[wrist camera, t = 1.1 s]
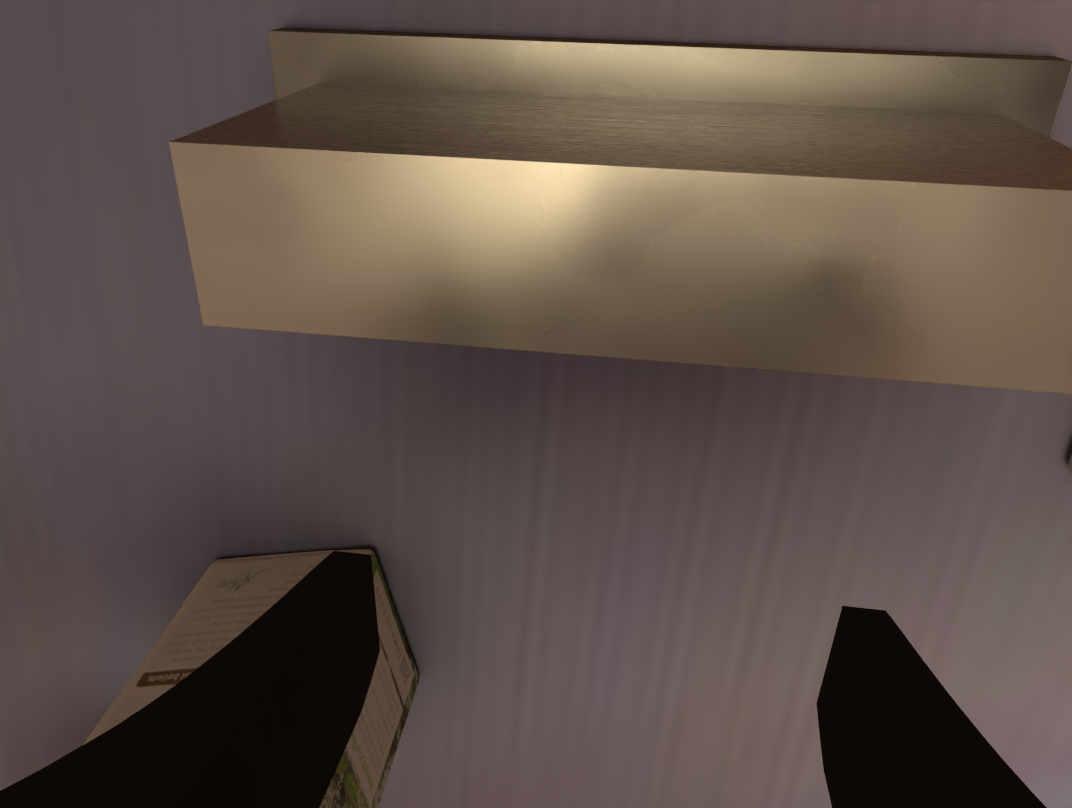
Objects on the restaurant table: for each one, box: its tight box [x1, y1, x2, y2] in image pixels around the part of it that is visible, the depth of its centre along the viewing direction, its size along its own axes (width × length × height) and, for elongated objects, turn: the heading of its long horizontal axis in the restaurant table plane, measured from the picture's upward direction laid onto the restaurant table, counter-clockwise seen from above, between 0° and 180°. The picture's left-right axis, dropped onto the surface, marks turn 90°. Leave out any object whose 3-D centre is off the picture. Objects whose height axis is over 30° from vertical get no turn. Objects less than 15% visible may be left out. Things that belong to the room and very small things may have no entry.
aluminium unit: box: [169, 28, 1072, 394], centre depth 16 cm, size 16×5×7 cm, turn 89°
